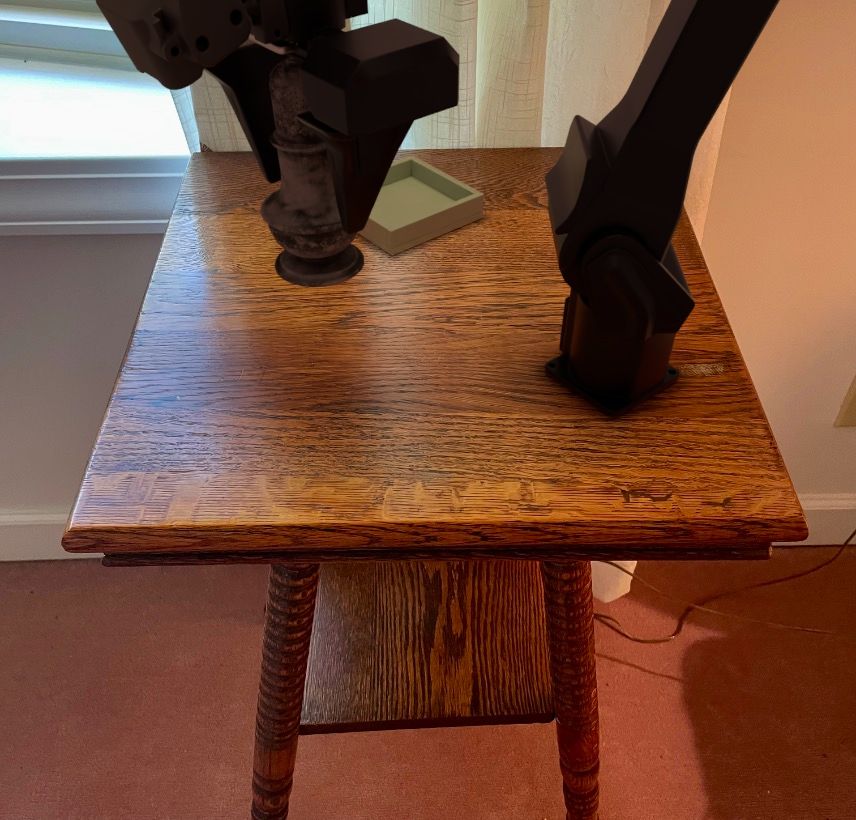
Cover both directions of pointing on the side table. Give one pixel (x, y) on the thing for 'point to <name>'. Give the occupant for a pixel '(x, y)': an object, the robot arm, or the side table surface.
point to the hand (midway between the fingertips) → (313, 205)
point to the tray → (419, 206)
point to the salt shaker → (304, 195)
